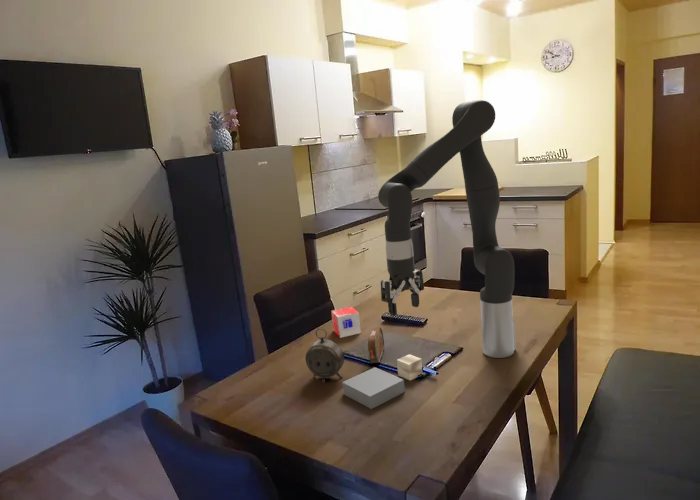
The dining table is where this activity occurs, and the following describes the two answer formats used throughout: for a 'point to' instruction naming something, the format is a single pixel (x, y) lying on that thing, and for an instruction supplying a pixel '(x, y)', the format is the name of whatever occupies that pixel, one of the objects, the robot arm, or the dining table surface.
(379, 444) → the dining table surface
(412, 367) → the birch cube
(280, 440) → the dining table surface
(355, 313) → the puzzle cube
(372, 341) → the tin
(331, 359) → the alarm clock
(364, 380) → the base block
